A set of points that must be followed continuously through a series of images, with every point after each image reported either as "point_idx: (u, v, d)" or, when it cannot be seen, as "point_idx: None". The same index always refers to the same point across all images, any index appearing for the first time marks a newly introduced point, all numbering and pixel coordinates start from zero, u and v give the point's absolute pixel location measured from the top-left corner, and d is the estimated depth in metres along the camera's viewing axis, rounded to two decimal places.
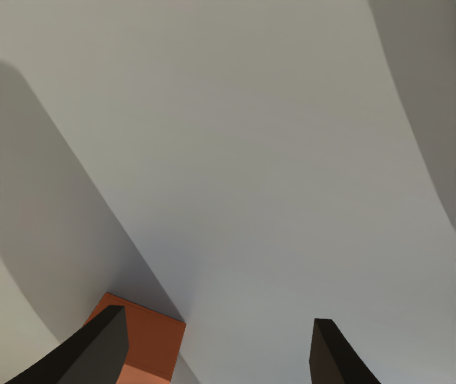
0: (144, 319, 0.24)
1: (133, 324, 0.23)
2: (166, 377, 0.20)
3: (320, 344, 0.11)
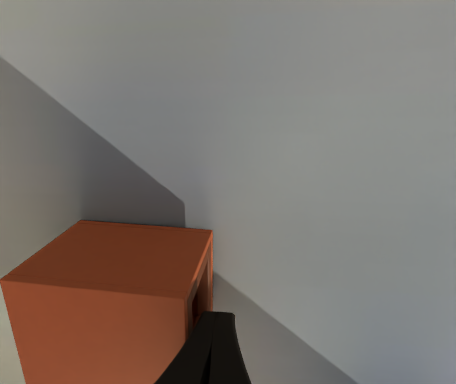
0: (139, 235, 0.14)
1: (120, 243, 0.14)
2: (176, 295, 0.11)
3: None
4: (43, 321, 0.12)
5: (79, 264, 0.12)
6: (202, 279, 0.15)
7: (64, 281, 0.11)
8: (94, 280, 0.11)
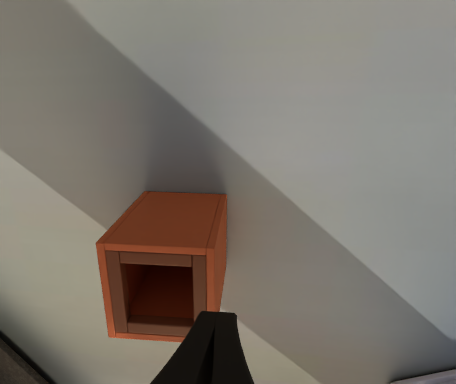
0: (198, 217, 0.16)
1: (185, 212, 0.17)
2: (102, 240, 0.14)
3: None
4: None
5: (156, 205, 0.18)
6: None
7: (135, 204, 0.18)
8: (133, 212, 0.17)
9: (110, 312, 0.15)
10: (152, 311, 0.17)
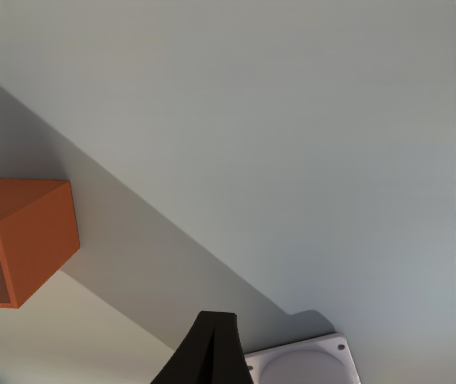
0: (17, 198, 0.18)
1: (11, 194, 0.19)
2: None
3: None
4: None
5: None
6: None
7: None
8: None
9: None
10: None
